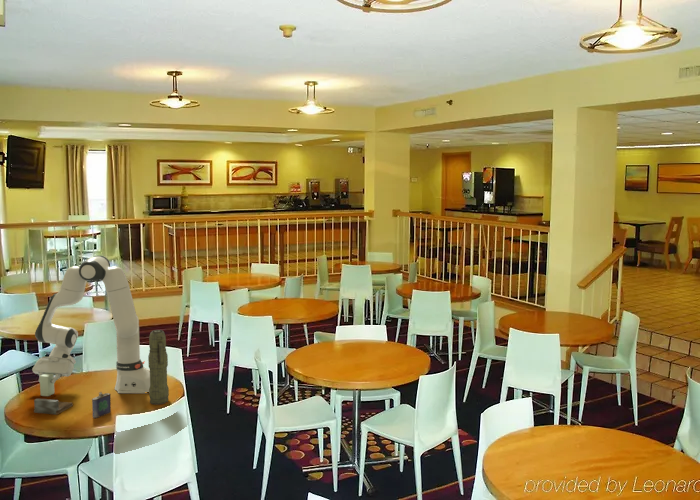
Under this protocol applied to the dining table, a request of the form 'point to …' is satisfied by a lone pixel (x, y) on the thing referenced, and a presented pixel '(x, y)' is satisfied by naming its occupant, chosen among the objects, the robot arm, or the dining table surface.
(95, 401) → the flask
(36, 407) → the display stand
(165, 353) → the stone statue
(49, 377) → the cabinet block
